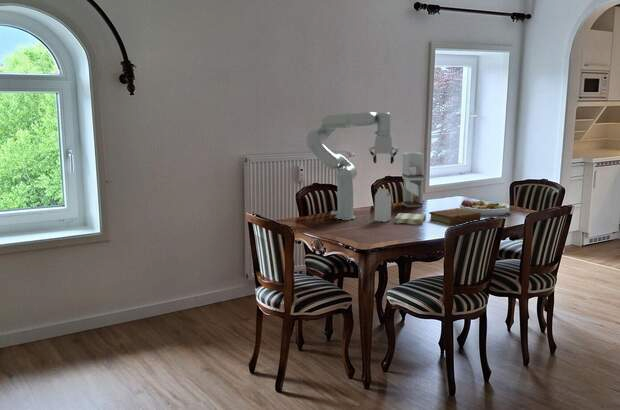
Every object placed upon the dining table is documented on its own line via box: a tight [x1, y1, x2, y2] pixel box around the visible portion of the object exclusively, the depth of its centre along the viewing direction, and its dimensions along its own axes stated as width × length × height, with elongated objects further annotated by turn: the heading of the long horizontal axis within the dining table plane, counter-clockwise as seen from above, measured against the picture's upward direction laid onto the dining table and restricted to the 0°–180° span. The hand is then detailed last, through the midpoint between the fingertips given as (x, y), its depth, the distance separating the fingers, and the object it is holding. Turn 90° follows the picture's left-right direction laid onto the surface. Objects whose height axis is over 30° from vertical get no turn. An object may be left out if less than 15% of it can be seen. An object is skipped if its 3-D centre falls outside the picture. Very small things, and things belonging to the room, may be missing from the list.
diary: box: [429, 207, 482, 227], centre depth 359 cm, size 23×19×6 cm
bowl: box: [459, 199, 510, 217], centre depth 384 cm, size 30×30×8 cm
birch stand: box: [394, 212, 427, 225], centre depth 360 cm, size 16×16×3 cm
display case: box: [401, 152, 425, 208], centre depth 409 cm, size 11×11×35 cm
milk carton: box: [374, 188, 392, 223], centre depth 361 cm, size 7×7×19 cm
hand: (383, 163), depth 357 cm, fingers open, 9 cm apart
